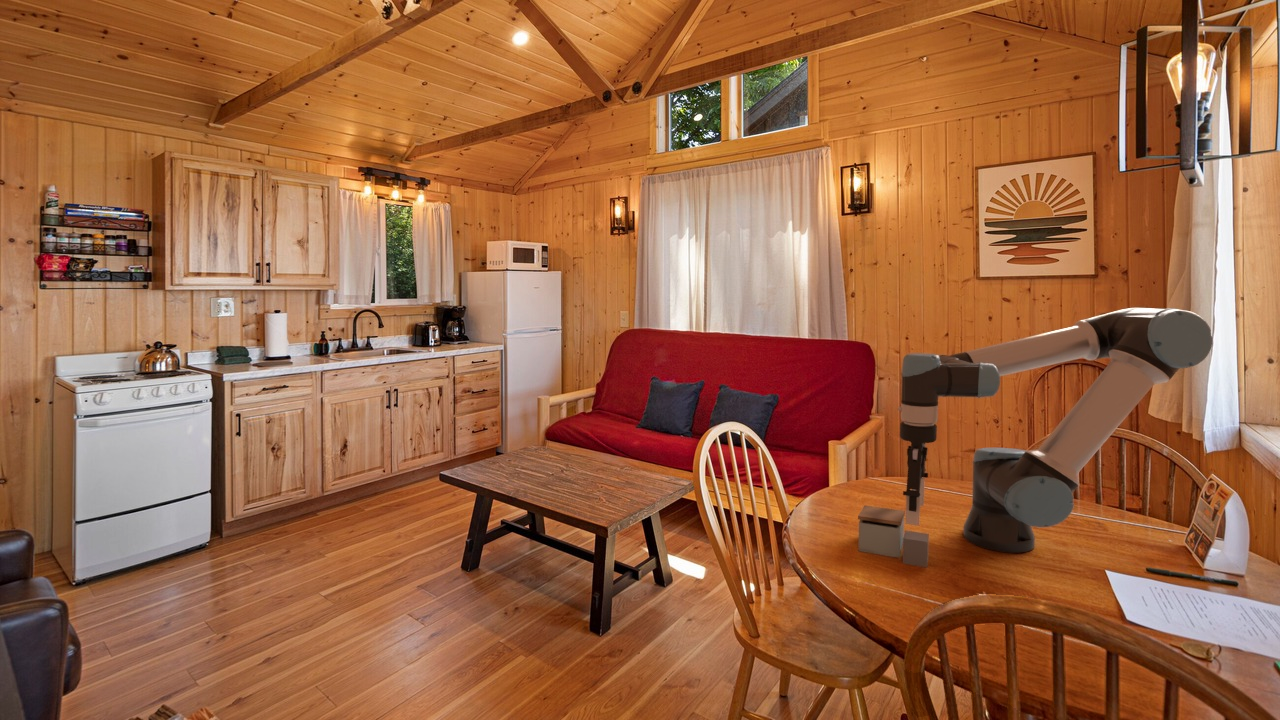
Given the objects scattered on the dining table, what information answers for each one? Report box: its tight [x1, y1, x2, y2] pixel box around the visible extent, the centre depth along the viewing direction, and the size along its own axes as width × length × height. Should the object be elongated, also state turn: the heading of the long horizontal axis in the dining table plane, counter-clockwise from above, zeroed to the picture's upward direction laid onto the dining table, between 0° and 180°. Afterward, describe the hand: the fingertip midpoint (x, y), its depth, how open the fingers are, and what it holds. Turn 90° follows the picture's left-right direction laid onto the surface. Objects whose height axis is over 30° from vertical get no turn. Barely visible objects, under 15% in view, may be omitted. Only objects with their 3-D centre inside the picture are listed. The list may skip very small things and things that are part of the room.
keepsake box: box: [857, 517, 905, 559], centre depth 147 cm, size 9×10×7 cm
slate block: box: [902, 529, 930, 568], centre depth 139 cm, size 5×5×6 cm
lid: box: [857, 505, 906, 525], centre depth 147 cm, size 9×10×1 cm
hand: (914, 514), depth 138 cm, fingers open, 13 cm apart
